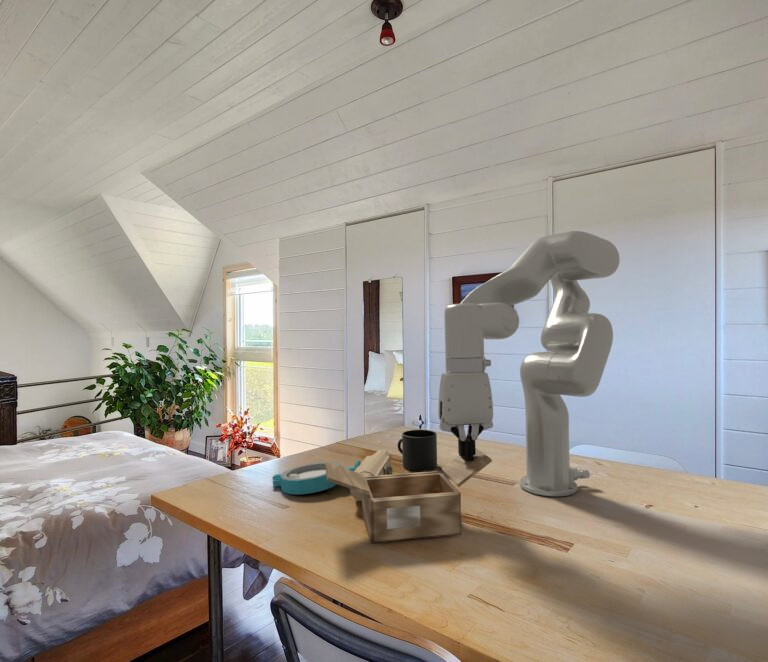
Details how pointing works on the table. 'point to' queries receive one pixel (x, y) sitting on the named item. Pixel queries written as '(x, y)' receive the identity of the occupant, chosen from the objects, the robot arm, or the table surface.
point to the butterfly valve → (315, 477)
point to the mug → (419, 449)
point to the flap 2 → (466, 467)
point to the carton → (411, 507)
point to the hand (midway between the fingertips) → (467, 459)
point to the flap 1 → (346, 478)
